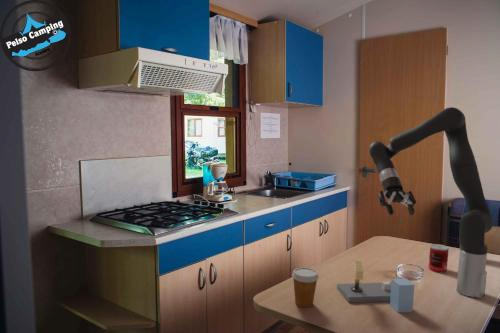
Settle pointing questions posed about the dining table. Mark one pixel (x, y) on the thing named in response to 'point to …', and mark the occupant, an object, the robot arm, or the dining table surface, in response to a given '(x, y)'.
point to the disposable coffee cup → (304, 286)
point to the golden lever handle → (358, 273)
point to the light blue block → (402, 295)
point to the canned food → (438, 258)
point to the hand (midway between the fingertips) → (402, 214)
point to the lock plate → (366, 292)
